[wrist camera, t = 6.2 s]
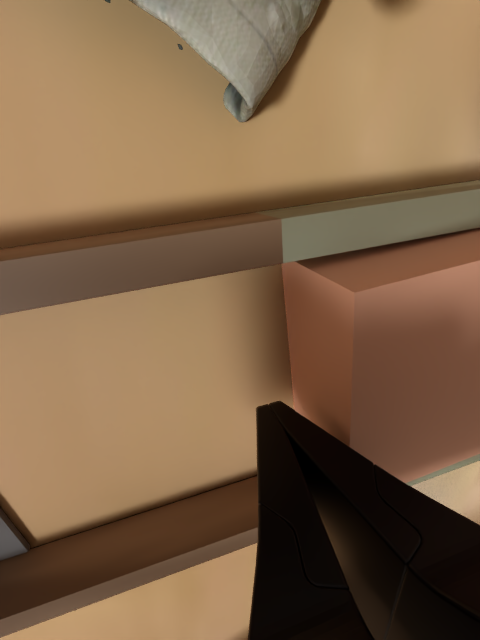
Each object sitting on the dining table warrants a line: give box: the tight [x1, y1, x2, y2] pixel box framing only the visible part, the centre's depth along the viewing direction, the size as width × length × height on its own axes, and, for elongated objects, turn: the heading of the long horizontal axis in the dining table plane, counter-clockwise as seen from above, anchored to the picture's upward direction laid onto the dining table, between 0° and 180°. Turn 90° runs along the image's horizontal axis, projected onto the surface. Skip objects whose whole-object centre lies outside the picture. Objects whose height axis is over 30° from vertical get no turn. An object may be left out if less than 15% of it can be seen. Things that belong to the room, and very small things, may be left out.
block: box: [282, 227, 480, 483], centre depth 9 cm, size 7×7×4 cm
